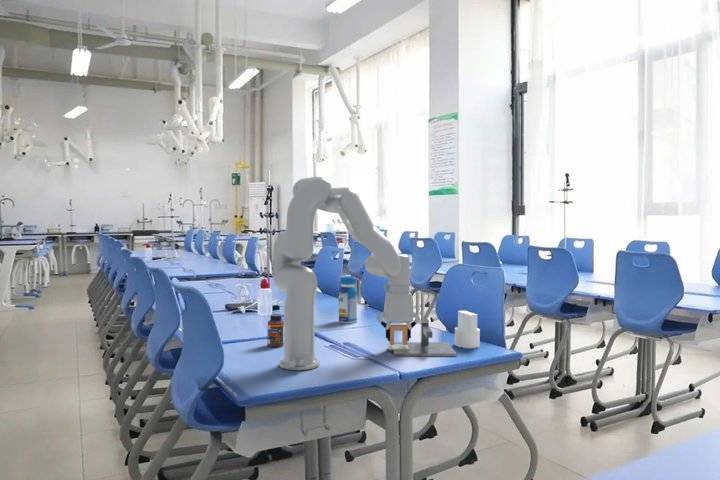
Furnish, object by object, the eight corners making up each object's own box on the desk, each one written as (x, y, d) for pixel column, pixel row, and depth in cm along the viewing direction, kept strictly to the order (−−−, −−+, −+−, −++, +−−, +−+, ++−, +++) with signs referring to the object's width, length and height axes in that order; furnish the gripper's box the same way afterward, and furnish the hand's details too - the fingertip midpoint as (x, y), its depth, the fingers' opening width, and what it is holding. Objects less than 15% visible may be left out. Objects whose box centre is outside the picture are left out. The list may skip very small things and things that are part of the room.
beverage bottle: (357, 323, 240) (357, 278, 240) (337, 323, 241) (337, 278, 240) (357, 320, 249) (357, 276, 248) (338, 319, 249) (339, 275, 248)
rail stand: (456, 356, 186) (456, 330, 186) (390, 356, 186) (390, 329, 186) (448, 345, 202) (448, 320, 202) (386, 345, 202) (387, 320, 202)
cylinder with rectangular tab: (450, 343, 205) (450, 311, 205) (471, 341, 208) (471, 310, 208) (462, 349, 197) (463, 315, 196) (484, 347, 200) (485, 314, 199)
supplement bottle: (268, 348, 197) (268, 316, 196) (266, 344, 202) (266, 313, 202) (285, 347, 198) (285, 315, 198) (282, 343, 204) (282, 312, 204)
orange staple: (407, 345, 192) (407, 326, 192) (390, 345, 192) (390, 326, 192) (406, 342, 196) (406, 323, 196) (389, 342, 196) (389, 324, 196)
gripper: (374, 290, 189) (374, 342, 190) (424, 290, 189) (424, 342, 190) (373, 287, 197) (373, 337, 198) (421, 288, 197) (421, 338, 198)
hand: (398, 339), depth 194 cm, fingers closed on orange staple, 6 cm apart
